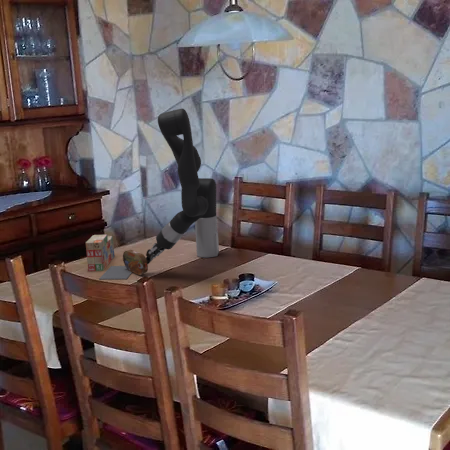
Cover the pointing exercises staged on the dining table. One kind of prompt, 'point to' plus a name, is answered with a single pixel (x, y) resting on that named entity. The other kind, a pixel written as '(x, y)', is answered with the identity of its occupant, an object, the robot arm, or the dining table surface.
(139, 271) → the tin
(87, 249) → the stack of blocks
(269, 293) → the dining table surface
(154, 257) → the robot arm
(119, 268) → the mat
